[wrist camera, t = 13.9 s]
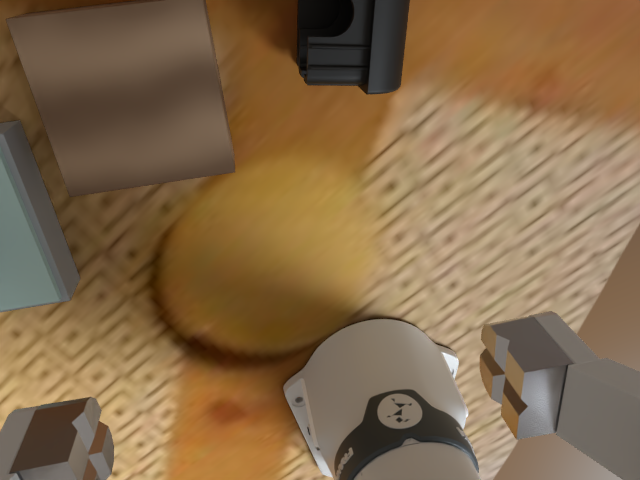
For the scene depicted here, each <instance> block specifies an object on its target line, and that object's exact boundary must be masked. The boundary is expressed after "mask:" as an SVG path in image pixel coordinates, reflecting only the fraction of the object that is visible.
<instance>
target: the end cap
mask: <svg viewBox="0 0 640 480" xmlns="http://www.w3.org/2000/svg"><path fill="white" fill-rule="evenodd" d="M409 3H410V0H298V19H297V64H298V66H299V74H300V75H301V77H303V78H304V81H305V83H306V84H307V85H340V86H359V87H360V88H361V89H362V90H363V91H364V92H365V93H366V94H383V93H389V92H393V91H395V90H397V89H398V88H399V87H400V85H401V76H402V67H403V58H404V49H405V39H406V30H407V21H408V12H409Z"/></svg>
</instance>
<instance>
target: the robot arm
mask: <svg viewBox="0 0 640 480" xmlns="http://www.w3.org/2000/svg"><path fill="white" fill-rule="evenodd" d="M481 340H482V342H483V343H484V345H485V346H486V349H485V350H484V351H483V353H482V354H481V355H480V372H481V377H482V381H483V383H484V386H485V388H486V390H487V392H488V394H489V396H490V397H491V399H493V400H495V401H496V402H498V403H500V404H502V409H501V416H502V417H503V419H504V420H505V422H506V424H507V425H508V427H509V428H510V430H511V432H512V433H513V435H514V437H515V438H516V440H517V439H522V438H528V437H534V436H539V435H545V434H550V433H556V435H557V436H559V437H561V438H562V439H563V440H565V441H566V442H568V443H569V444H571V445H573V446H574V447H575V448H577V449H578V450H580V451H581V452H583V453H584V454H586V455H587V456H589V457H590V458H592V459H593V460H594V461H596V462H597V463H599V464H600V465H602V466H604V467H605V468H606V469H608V470H609V471H611V472H612V473H614V474H615V475H617V476H618V477H620V478H621V479H623V480H640V372H639V371H637V370H635V369H632V368H630V367H627V366H625V365H622V364H620V363H617V362H615V361H613V360H610V359H608V358H604V359H599V358H598V357H597V356H596V355H595V353H594V352H593V351H592V350H591V349H590V348H589V347H588V346H587V345H586V344H585V343H584V342H583V341H582V340H581V339H580V338H579V337H578V336H577V335H576V334H575V332H574V331H573V330H572V329H571V328H570V327H569V326H568V325H567V324H566V323H565V322H564V321H563V320H562V319H561V318H560V317H559V316H558V315H557V314H556V313H554V312H552V311H549V312H544V313H539V314H535V315H530V316H528V317H521V318H516V319H511V320H506V321H501V322H495V323H490V324H485V325H484V326H483V329H482V334H481ZM458 364H459V361H458V358H457V355H456V353H455V352H454V351H452V350H450V349H448V348H446V347H443V346H440V345H437V344H435V343H434V342H433V341H431V340H430V339H429V337H428V336H427V335H426V334H425V333H423V332H422V331H421V330H420V329H418V328H417V327H415V326H413V325H411V324H408V323H405V322H402V321H398V320H391V319H375V320H368V321H363V322H359V323H356V324H353V325H350V326H348V327H346V328H343V329H342V330H340V331H338V332H336V333H335V334H333V335H332V336H330V337H329V338H328V339H326V340H325V341H324V342H323V343H322V344H321V345H320V346H319V347H318V348H317V349H316V351H315V352H314V353H313V355H312V356H311V358H310V360H309V361H308V363H307V364H306V366H305V367H304V368H303V369H302V370H301V371H300V372H298V373H297V374H295V375H294V376H293V377H291V378H290V379H289V380H288V381H287V382H286V383H285V385H284V387H283V390H284V394H285V397H286V399H287V402H288V404H289V406H290V408H291V410H292V412H293V414H294V416H295V418H296V421H297V423H298V425H299V427H300V429H301V431H302V433H303V435H304V438H305V440H306V442H307V444H308V446H309V448H310V450H311V452H312V454H313V457H314V459H315V461H316V463H317V465H318V467H319V469H320V471H321V473H322V474H323V475H325V476H330V477H333V478H334V480H481V478H480V476H479V474H478V473H479V468H478V462H477V459H476V457H475V454H474V450H473V447H472V445H471V443H470V441H469V439H468V437H467V436H466V435H465V433H464V431H463V428H464V426H465V422H466V417H467V416H468V409H467V407H466V404H465V402H464V400H463V397H462V395H461V393H460V391H459V388H458V386H457V384H456V382H455V380H454V379H455V375H456V372H457V368H458ZM297 397H300V398H297ZM100 414H101V408H100V406H99V404H98V402H97V400H96V399H95V398H92V397H88V398H82V399H76V400H69V401H63V402H57V403H51V404H45V405H41V406H35V407H29V408H23V409H17V410H14V411H13V412H12V413H10V414H9V415H8V417H7V419H6V421H5V423H4V425H3V427H2V429H1V431H0V480H106V479H107V478H108V477H109V476H110V475H111V473H112V467H113V462H114V445H113V440H112V435H111V432H110V430H109V427H108V426H107V425H105V424H103V423H102V422H100V421H99V418H100Z"/></svg>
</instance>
